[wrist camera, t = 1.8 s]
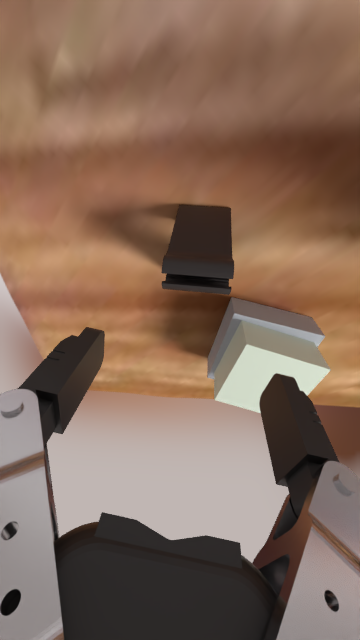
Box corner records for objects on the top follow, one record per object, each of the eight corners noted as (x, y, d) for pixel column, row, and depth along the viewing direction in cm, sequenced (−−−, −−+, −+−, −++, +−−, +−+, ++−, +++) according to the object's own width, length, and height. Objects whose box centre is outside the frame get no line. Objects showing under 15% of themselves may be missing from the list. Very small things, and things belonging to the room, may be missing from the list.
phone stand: (179, 204, 27) (161, 221, 17) (230, 207, 27) (243, 227, 17) (176, 275, 32) (161, 322, 22) (219, 279, 32) (224, 328, 21)
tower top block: (313, 342, 30) (330, 369, 26) (275, 390, 35) (284, 420, 31) (241, 320, 29) (246, 344, 25) (214, 372, 35) (214, 399, 30)
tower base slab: (310, 316, 33) (325, 336, 29) (274, 372, 40) (282, 395, 36) (231, 295, 33) (234, 313, 29) (207, 356, 40) (207, 377, 35)
